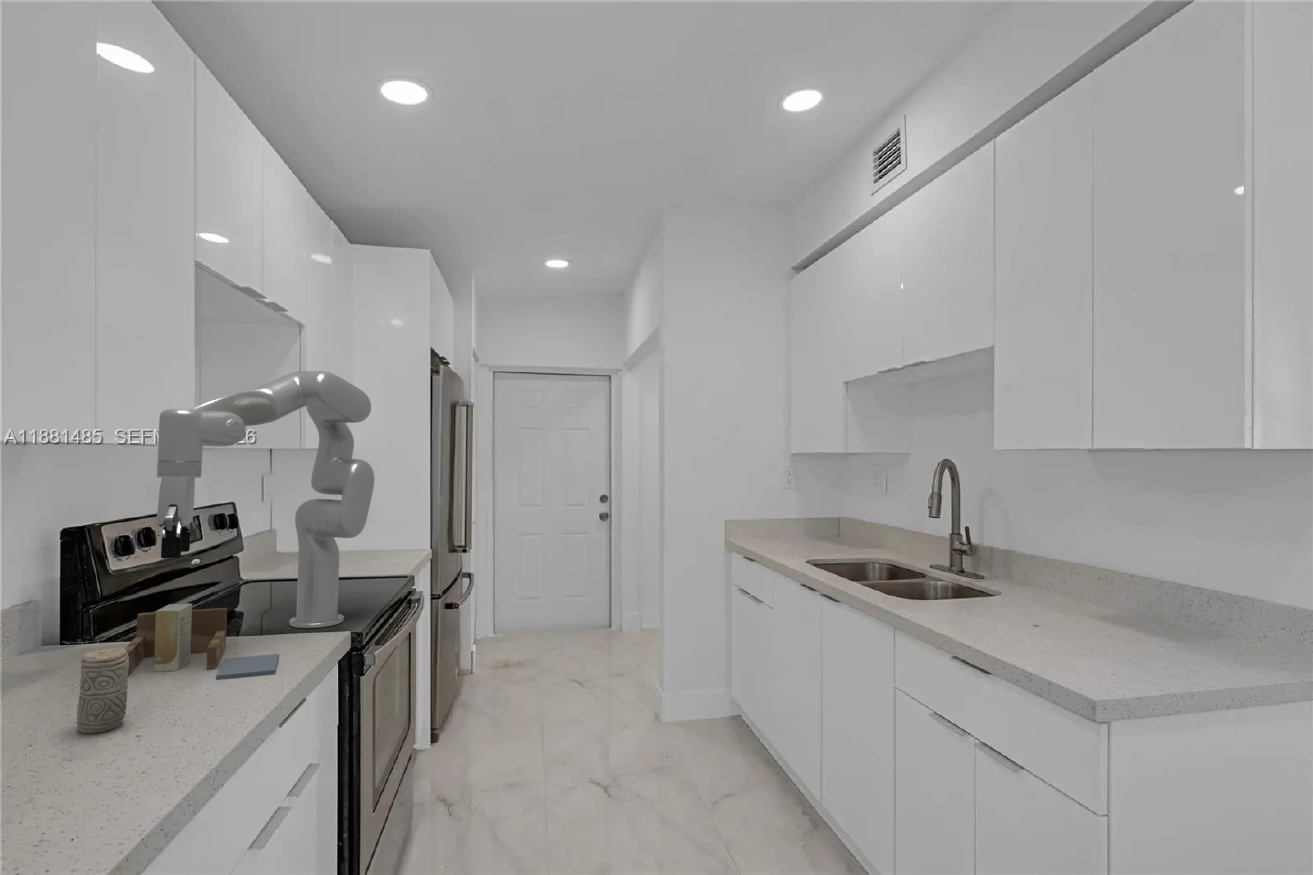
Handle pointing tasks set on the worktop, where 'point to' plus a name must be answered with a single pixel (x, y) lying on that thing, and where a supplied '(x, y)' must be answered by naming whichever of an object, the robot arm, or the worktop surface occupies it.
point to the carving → (103, 690)
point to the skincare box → (172, 637)
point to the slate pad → (247, 666)
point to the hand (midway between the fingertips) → (175, 554)
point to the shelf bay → (204, 636)
